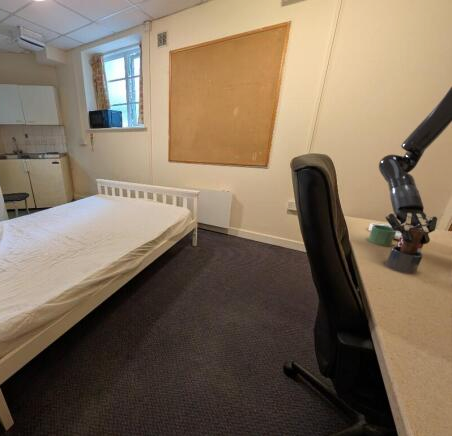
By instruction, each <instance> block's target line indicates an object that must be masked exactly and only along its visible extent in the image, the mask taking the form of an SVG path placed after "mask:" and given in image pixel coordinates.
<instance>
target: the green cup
mask: <svg viewBox="0 0 452 436" xmlns="http://www.w3.org/2000/svg"><path fill="white" fill-rule="evenodd" d="M396 232H397V231H395V230H393V228H391V227H388V226H382V225H374V226H373V227H372V230H371V231H370V233H369V235H368V238H367V241H368V242H370V243H372V244H375V245H377V246H381V247H382V246H383V247H391V246H392V244H393V242H394V241H395V239H394V237H395V235H396Z"/></svg>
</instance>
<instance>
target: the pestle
mask: <svg viewBox="0 0 452 436" xmlns="http://www.w3.org/2000/svg"><path fill="white" fill-rule="evenodd" d="M408 231H410V233H411V237H412V241H411V242H409V243H407V242H405V241H404V242H403V244H402V247H401V249H400V251H399V252H401V253H404V254H407V255H412V256H415V253H416V251H417V249H418V247H419V244H420V242H421V240H422V238H423V235H424V233H425V231H424V230H422V229H418V228H409V230H408Z"/></svg>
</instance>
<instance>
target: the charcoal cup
mask: <svg viewBox="0 0 452 436" xmlns="http://www.w3.org/2000/svg"><path fill="white" fill-rule="evenodd" d="M400 249H401V246H397V245H394V246H392V247H391V248H390V251H389V254H388V255H387V259H386V261H385V266H386V267H388V268H389V269H391V270H393V271H395V272H400V273H403V274H408V275H409V274H410V275H413V274H416V273H417V271H418V269H419V267H420V264H421V262H422V261H423V258H424V253H422V252H421V251H420V252H419V251H416V253H415V256H412V255H407V254H404V253H401V252H399V251H400Z"/></svg>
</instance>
